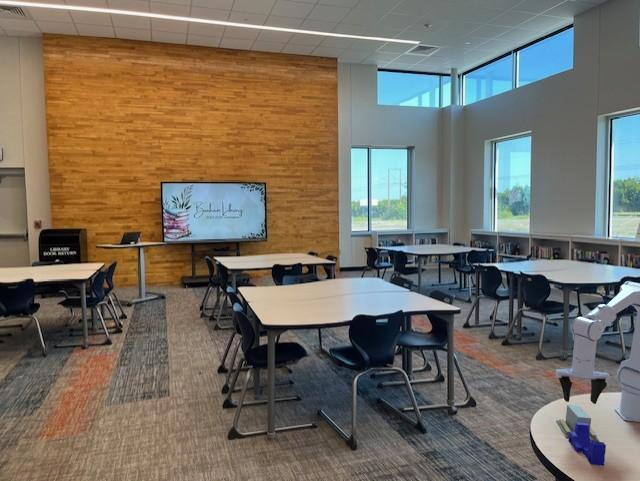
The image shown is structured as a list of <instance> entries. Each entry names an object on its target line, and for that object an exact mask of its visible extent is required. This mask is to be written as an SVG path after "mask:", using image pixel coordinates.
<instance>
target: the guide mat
mask: <svg viewBox="0 0 640 481" xmlns="http://www.w3.org/2000/svg"><path fill="white" fill-rule="evenodd" d="M555 421H556V423H557V425H558V426H559V428H560V430H561V432H562V434H563V435H564V437H565V438H566V439H569V435H566V433H565V431H564V430H563V428H562V426H561V425H560V423H559V419H558V420H555ZM564 421H565V422H566V420H564ZM568 428H569V427H568ZM569 429H570V428H569ZM570 431H572V430H571V429H570ZM590 441H595V442H600V440H599V438H598V437H596V439H595V438H591V436H590Z"/></svg>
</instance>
